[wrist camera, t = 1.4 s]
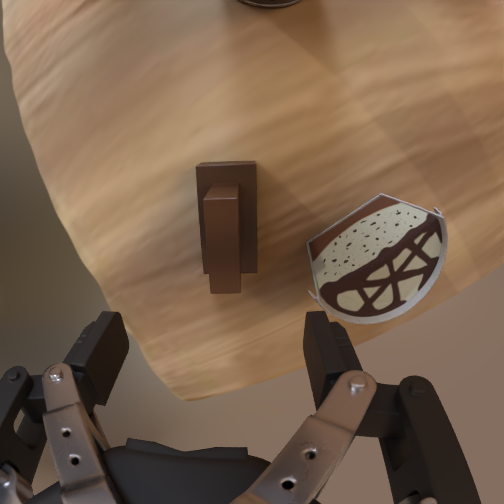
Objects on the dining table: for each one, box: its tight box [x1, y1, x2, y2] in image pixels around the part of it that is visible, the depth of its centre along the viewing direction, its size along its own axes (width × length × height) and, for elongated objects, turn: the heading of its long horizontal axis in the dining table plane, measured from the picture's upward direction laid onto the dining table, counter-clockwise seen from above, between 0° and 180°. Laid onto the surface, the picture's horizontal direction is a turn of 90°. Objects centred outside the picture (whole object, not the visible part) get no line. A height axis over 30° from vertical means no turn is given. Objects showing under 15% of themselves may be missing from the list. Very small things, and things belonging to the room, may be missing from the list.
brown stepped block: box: [196, 161, 257, 294], centre depth 24 cm, size 10×5×9 cm, turn 1°
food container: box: [306, 193, 448, 324], centre depth 25 cm, size 12×6×10 cm, turn 125°
